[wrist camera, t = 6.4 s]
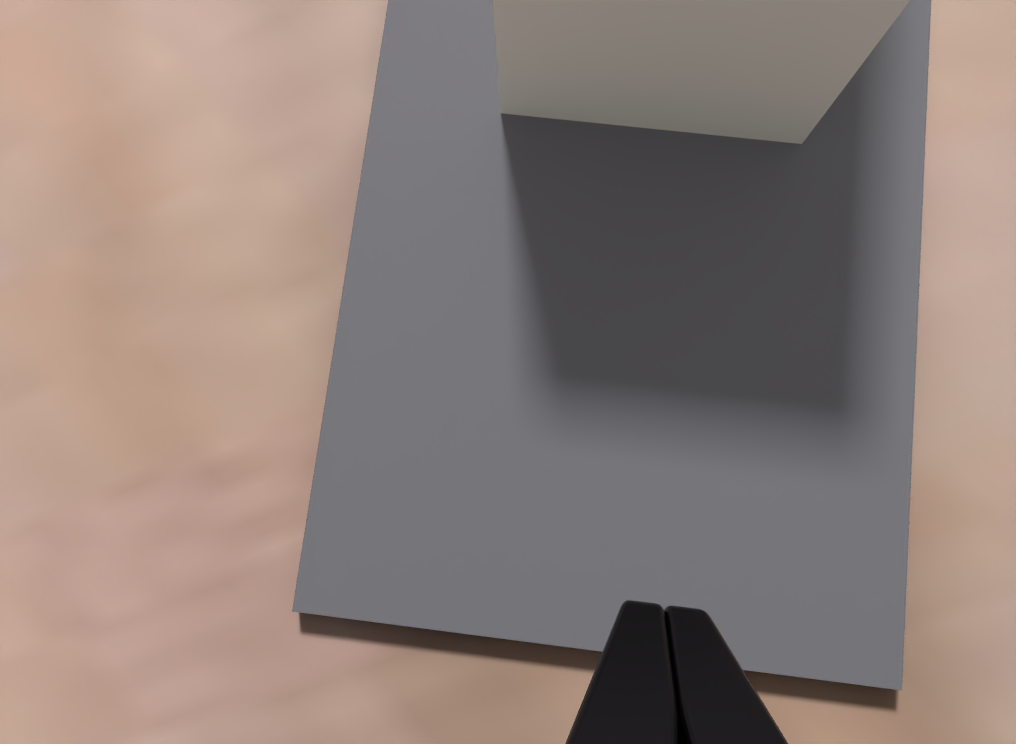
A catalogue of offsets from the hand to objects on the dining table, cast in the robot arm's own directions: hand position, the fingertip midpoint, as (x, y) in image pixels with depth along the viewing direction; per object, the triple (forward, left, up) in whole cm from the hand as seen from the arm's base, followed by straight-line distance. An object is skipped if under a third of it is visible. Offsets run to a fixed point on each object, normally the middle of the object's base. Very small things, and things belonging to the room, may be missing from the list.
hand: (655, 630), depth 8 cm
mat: (+8, -2, -7) cm, 11 cm away
